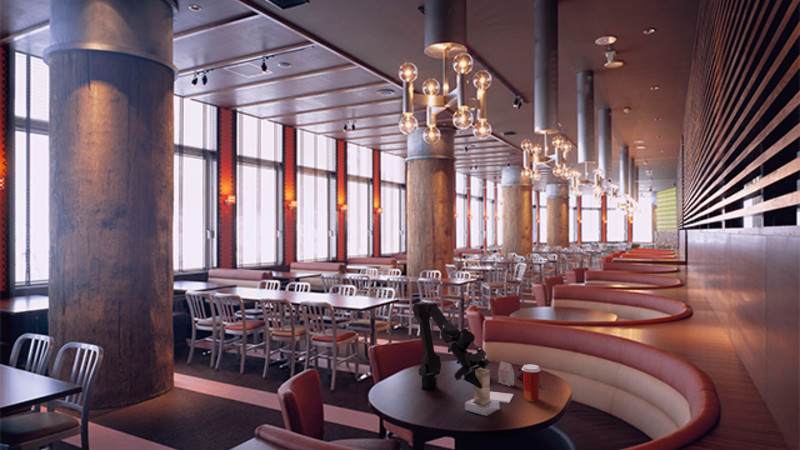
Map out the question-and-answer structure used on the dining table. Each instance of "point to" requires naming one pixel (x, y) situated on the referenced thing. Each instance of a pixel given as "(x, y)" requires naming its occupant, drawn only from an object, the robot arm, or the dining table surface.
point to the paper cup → (531, 382)
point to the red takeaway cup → (520, 373)
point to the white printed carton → (505, 374)
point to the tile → (501, 397)
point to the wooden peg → (484, 393)
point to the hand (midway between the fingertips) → (484, 386)
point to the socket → (482, 407)
